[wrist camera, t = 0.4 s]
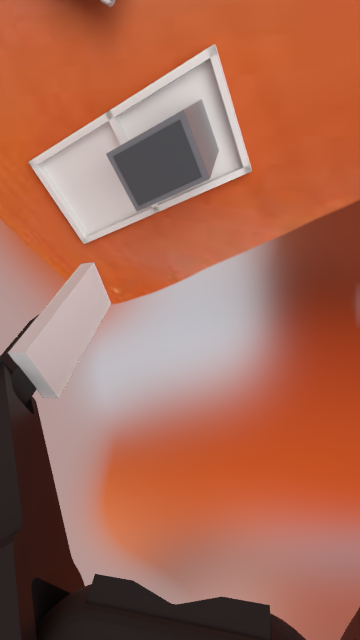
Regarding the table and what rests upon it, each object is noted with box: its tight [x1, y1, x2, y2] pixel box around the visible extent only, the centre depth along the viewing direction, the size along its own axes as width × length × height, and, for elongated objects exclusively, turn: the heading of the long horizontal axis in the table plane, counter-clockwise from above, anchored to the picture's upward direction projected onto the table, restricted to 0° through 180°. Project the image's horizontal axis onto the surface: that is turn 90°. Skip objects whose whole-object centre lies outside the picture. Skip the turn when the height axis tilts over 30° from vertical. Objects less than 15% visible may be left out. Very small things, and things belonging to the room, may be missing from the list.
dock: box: [29, 44, 252, 244], centre depth 31 cm, size 11×24×13 cm, turn 115°
